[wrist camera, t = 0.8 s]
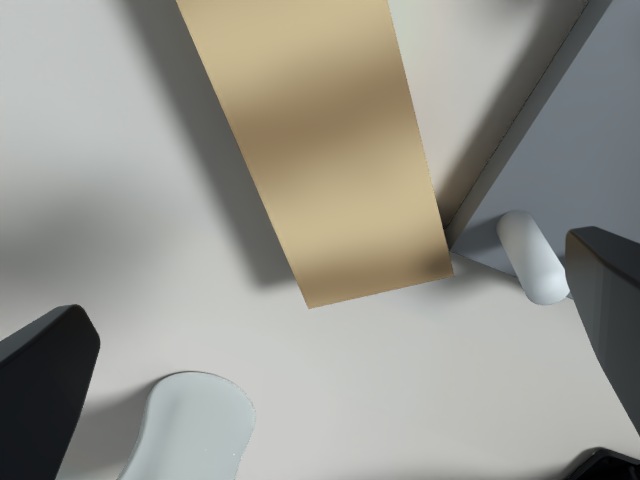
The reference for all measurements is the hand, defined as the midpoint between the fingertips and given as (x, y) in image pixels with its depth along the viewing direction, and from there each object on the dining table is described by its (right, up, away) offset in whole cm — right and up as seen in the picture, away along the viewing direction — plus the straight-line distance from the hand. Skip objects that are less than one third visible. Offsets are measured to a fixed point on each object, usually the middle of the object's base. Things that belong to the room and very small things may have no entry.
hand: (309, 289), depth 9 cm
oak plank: (0, +6, +10) cm, 12 cm away
